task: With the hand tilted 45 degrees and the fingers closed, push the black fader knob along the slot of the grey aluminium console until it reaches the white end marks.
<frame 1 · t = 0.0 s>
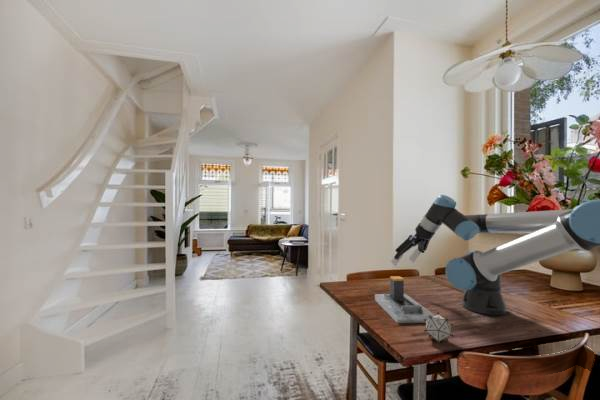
hand: (402, 261, 132), 15 cm above the table, tool tilted 35°, fingers open, 13 cm apart
fader console: (401, 309, 112), on the table
game die: (438, 341, 87), on the table
fader knob: (396, 288, 117), point 7 cm above the table, slide at 0.0 cm
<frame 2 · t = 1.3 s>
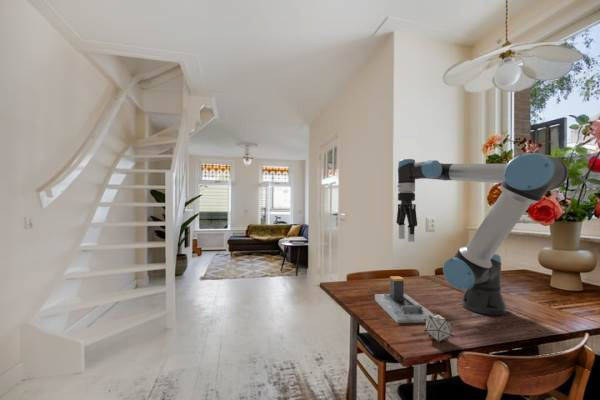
hand: (406, 240, 132), 26 cm above the table, tool pointing down, fingers open, 9 cm apart
nothing on the table moved.
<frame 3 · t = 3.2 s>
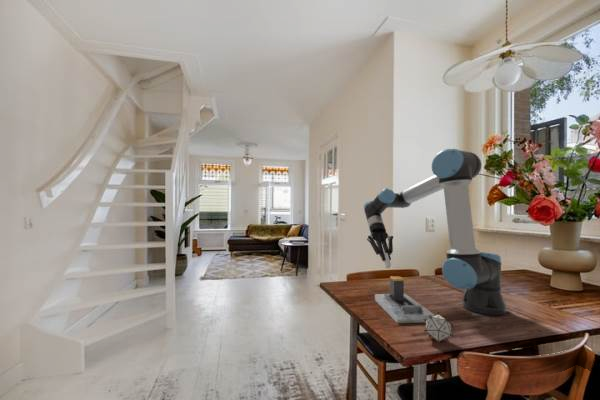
hand: (388, 266, 127), 14 cm above the table, tool tilted 45°, fingers closed
nothing on the table moved.
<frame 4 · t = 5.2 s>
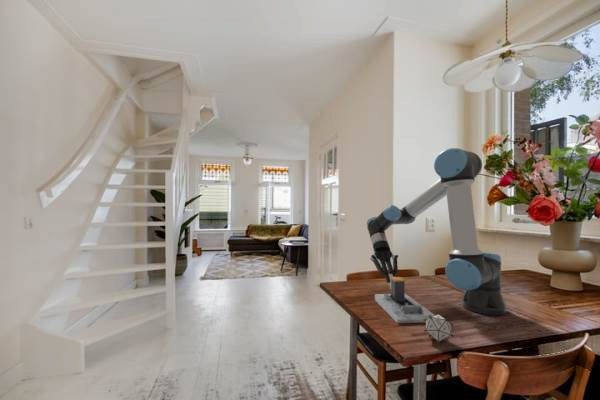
hand: (393, 289, 120), 6 cm above the table, tool tilted 45°, fingers closed
fader knob: (397, 288, 117), point 7 cm above the table, slide at 0.9 cm, touching gripper
everything else where it was.
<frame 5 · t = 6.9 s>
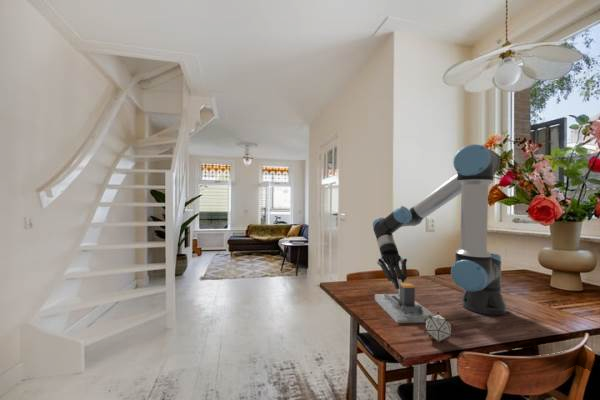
hand: (403, 295, 111), 6 cm above the table, tool tilted 45°, fingers closed
fader knob: (407, 295, 108), point 7 cm above the table, slide at 9.6 cm, touching gripper
everything else where it was.
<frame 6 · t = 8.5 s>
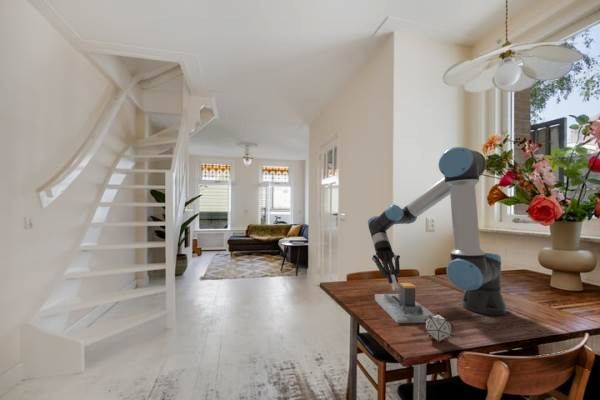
hand: (395, 289, 118), 6 cm above the table, tool tilted 45°, fingers closed
fader knob: (407, 296, 107), point 7 cm above the table, slide at 10.0 cm, touching fader console
everything else where it was.
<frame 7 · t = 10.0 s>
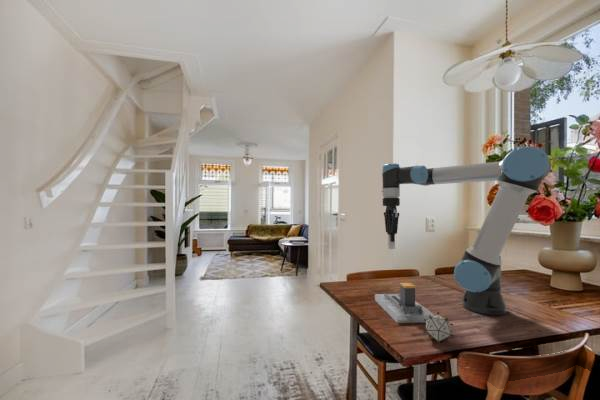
hand: (391, 248, 129), 22 cm above the table, tool pointing down, fingers closed
nothing on the table moved.
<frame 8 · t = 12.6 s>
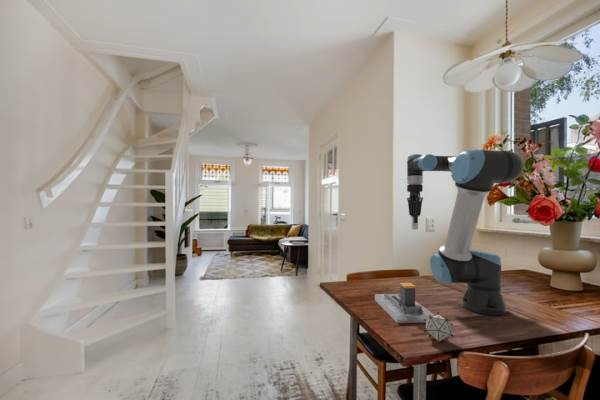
hand: (414, 229, 147), 29 cm above the table, tool pointing down, fingers closed
nothing on the table moved.
at the end: fader knob slide at 10.0 cm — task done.
